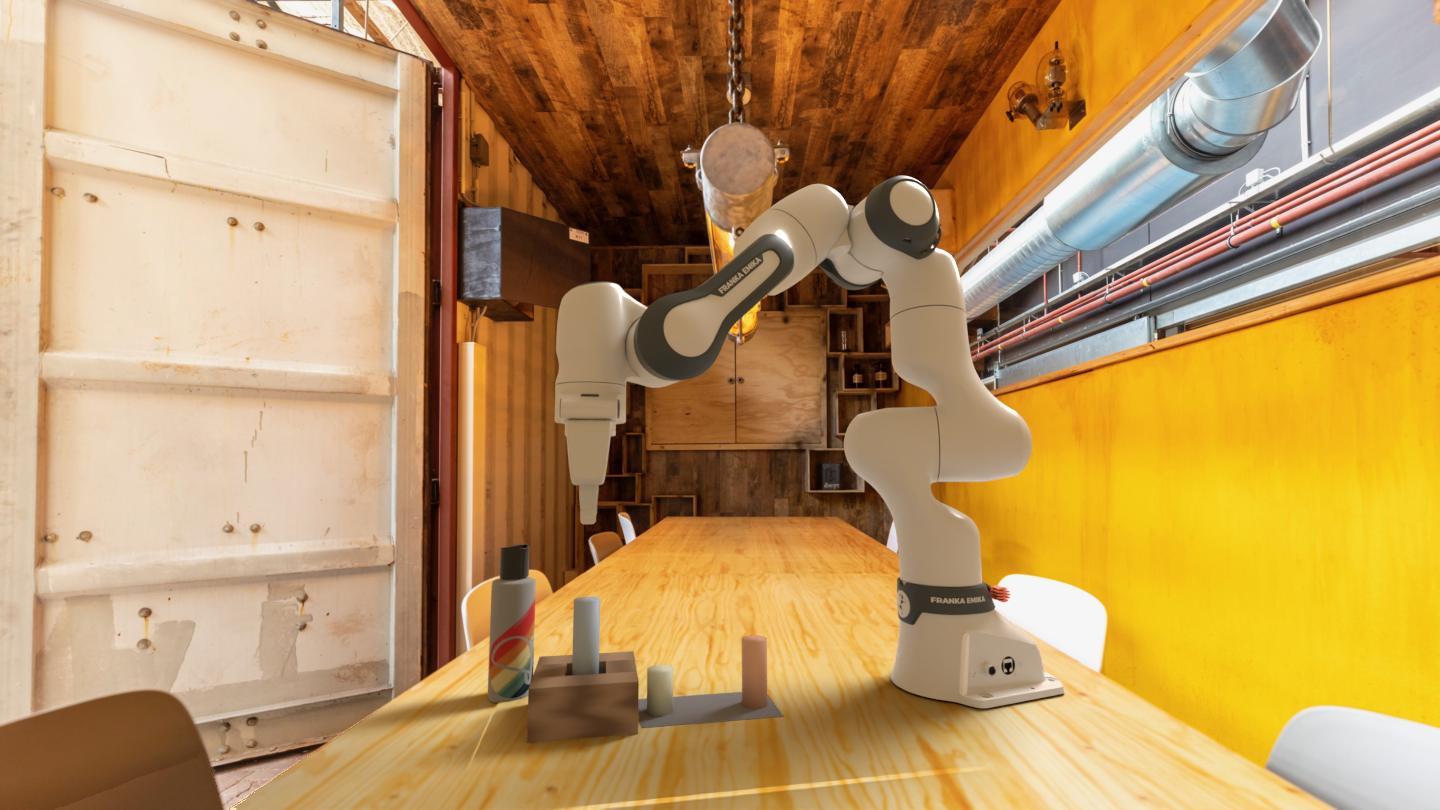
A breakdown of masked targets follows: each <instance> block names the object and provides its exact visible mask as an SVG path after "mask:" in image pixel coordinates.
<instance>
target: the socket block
mask: <svg viewBox="0 0 1440 810" xmlns="http://www.w3.org/2000/svg"><path fill="white" fill-rule="evenodd" d="M572 656H573V654H563V655H546V656H545V655H542V656H539V658H538V661H537V664H536V667H535V669H534V671H533V678H532V680H531V683H530V686H529V692H528V696H527V697H528V698H527V699H528V701H527V702H528V703H527V704H528V705H527V729H526V730H527V732H526V733H527V734H526V743H527V744H532V743H544V742H557V741H569V740H570V741H571V740H580V739H582V740H583V739H593V738H594V739H595V738H604V737H606V738H607V737H616V736H617V737H618V736H619V737H620V736H631V735H632V736H633V735H638V734H639V707H638V699H639V684H640V683H639V682H640V681H639V676H638V669H637V663H636V658H635V657H636V656H635V653H634V650H632V651H615V652H599V674H589V675H573V676H572Z"/></svg>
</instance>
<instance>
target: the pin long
mask: <svg viewBox="0 0 1440 810" xmlns="http://www.w3.org/2000/svg"><path fill="white" fill-rule="evenodd" d="M572 617H573V620H572V622H573V624H572V625H573V626H572V627H573V628H572V655H573V656H572V676H573V675H589V674H599V653H600V640H601V639H600V636H601V632H600V629H601V628H600V627H601V626H600V625H601V598H600V597H597V596H582V597H581V596H580V597H576V598H574V599H573V615H572Z"/></svg>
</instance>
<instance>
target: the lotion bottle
mask: <svg viewBox="0 0 1440 810" xmlns="http://www.w3.org/2000/svg"><path fill="white" fill-rule="evenodd" d="M530 548H531V547H530V546H529V545H528V543H518V544H513V545H510V546H505V547H501V548H500V549H499V550H500V551H499V574H498V575H499V578H497V579H494V580H493V581H492V582H491V590H490V591H491V592H490V595H491V596H490V616H489V617H490V621H489V643H488V644H489V647H488V650H489V651H488V677H487V698H488V700H489V701H490V702H492V703H495V704H499V703H500V702H512V701H513V702H514V701H518V700H522V699H524V698H527V697H528V692H529V686H530V683H531V680H532V678H533V675H534V662H535V659H534V658H535V657H534V656H535V655H534V654H535V653H534V652H535V627H536V626H535V624H536V623H535V621H536V594H537V593H536V589H537V588H536V587H537V585H536V578H534V577H531V576H529V573H530V551H531V549H530Z"/></svg>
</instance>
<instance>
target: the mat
mask: <svg viewBox="0 0 1440 810" xmlns="http://www.w3.org/2000/svg"><path fill="white" fill-rule="evenodd" d="M638 714H639V719H640V725H641V729H648V728H662V727H672V726H685V725H686V726H687V725H696V724H697V725H698V724H699V725H700V724H709V723H724V722H734V721H735V722H736V721H748V720H761V719H774V718H775V719H776V718H784V717H785V715H784V713H782V711H781V710H780V709H779V708H778V706H777V704H776V703H775V702H774V701H773V699H772V698H771V697H770V695H769V693H767V706H766V707H764V708H760V709H751V708H746V707H744V706H743V705H742V691H735V692H724V693H723V692H722V693H719V692H718V693H709V694H708V693H706V694H694V695H679V696H673V712H672V713H671V714H669V715H666V716H652V715H649V714H648V713H647V698H638Z"/></svg>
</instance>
